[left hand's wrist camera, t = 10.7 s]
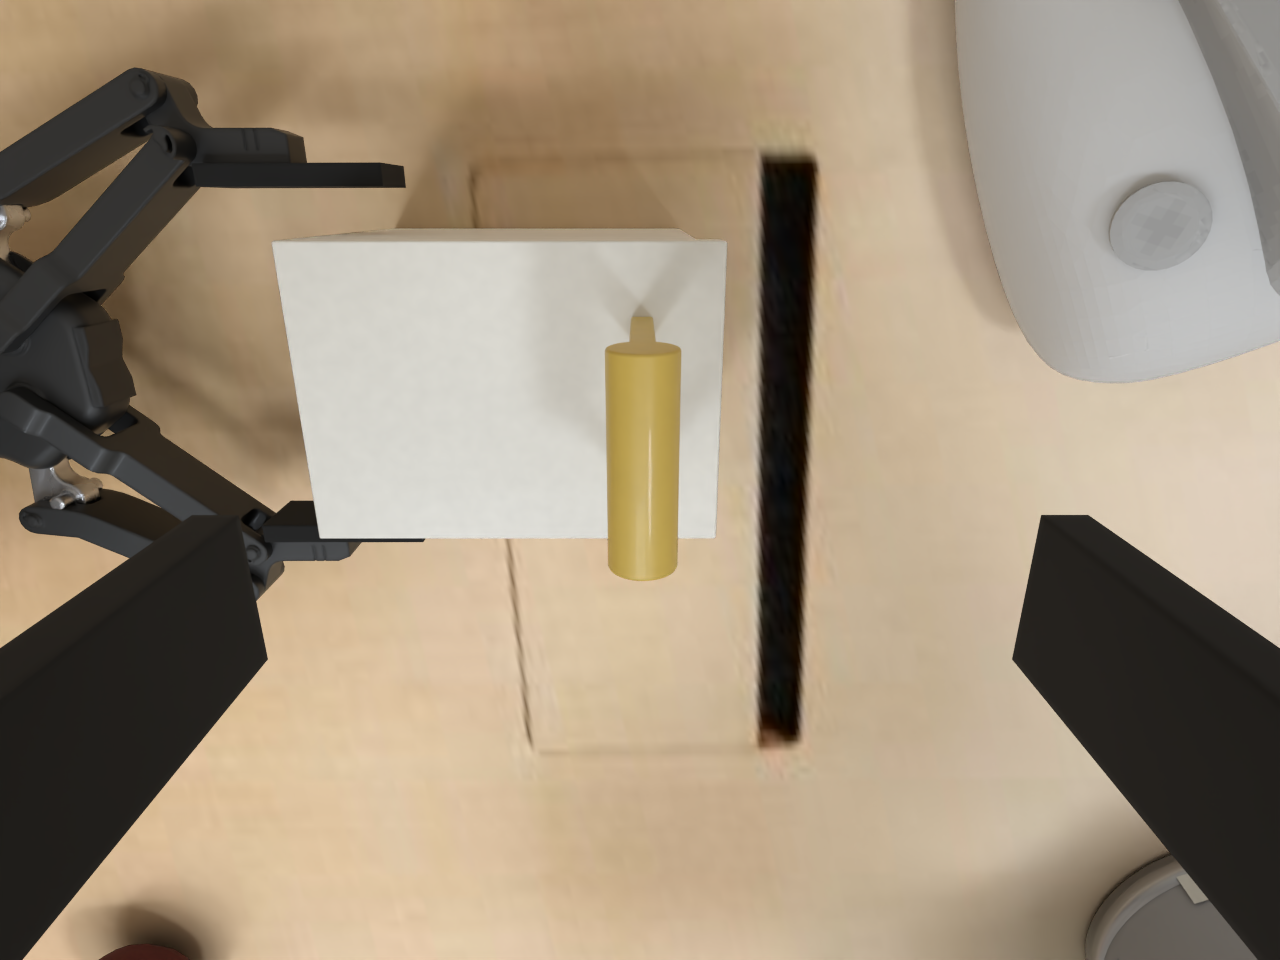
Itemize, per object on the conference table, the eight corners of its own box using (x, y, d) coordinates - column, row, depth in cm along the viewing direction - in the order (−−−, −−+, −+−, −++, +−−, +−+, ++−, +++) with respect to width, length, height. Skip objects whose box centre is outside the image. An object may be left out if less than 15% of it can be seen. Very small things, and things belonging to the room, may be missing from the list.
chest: (679, 228, 34) (697, 239, 24) (676, 436, 37) (690, 524, 27) (393, 228, 34) (288, 238, 24) (416, 436, 37) (332, 524, 27)
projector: (1528, -125, 29) (2311, -415, 16) (1213, 417, 37) (1553, 543, 23) (1014, -336, 27) (1397, -888, 13) (792, 286, 35) (892, 340, 21)
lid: (723, 239, 24) (765, 256, 16) (712, 524, 27) (742, 654, 19) (288, 239, 24) (116, 256, 16) (332, 525, 27) (208, 654, 19)
